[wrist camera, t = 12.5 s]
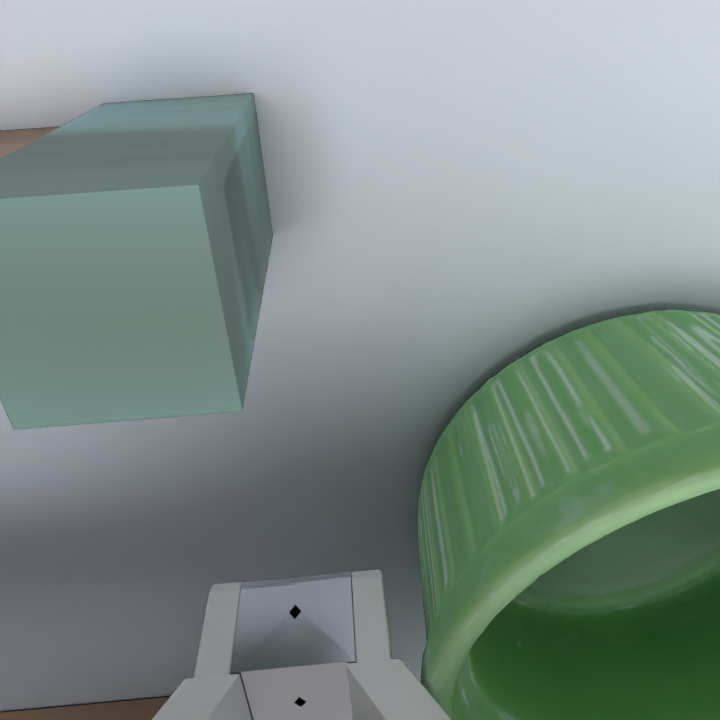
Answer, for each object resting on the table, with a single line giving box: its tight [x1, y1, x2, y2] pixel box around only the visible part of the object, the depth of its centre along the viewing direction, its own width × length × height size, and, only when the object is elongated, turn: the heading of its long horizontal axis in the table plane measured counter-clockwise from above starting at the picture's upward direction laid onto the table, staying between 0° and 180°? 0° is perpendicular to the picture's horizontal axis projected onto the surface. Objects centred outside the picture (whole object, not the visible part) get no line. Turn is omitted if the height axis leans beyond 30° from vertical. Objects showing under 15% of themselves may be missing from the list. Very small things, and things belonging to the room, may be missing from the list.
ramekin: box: [418, 309, 720, 720], centre depth 10 cm, size 9×9×4 cm
